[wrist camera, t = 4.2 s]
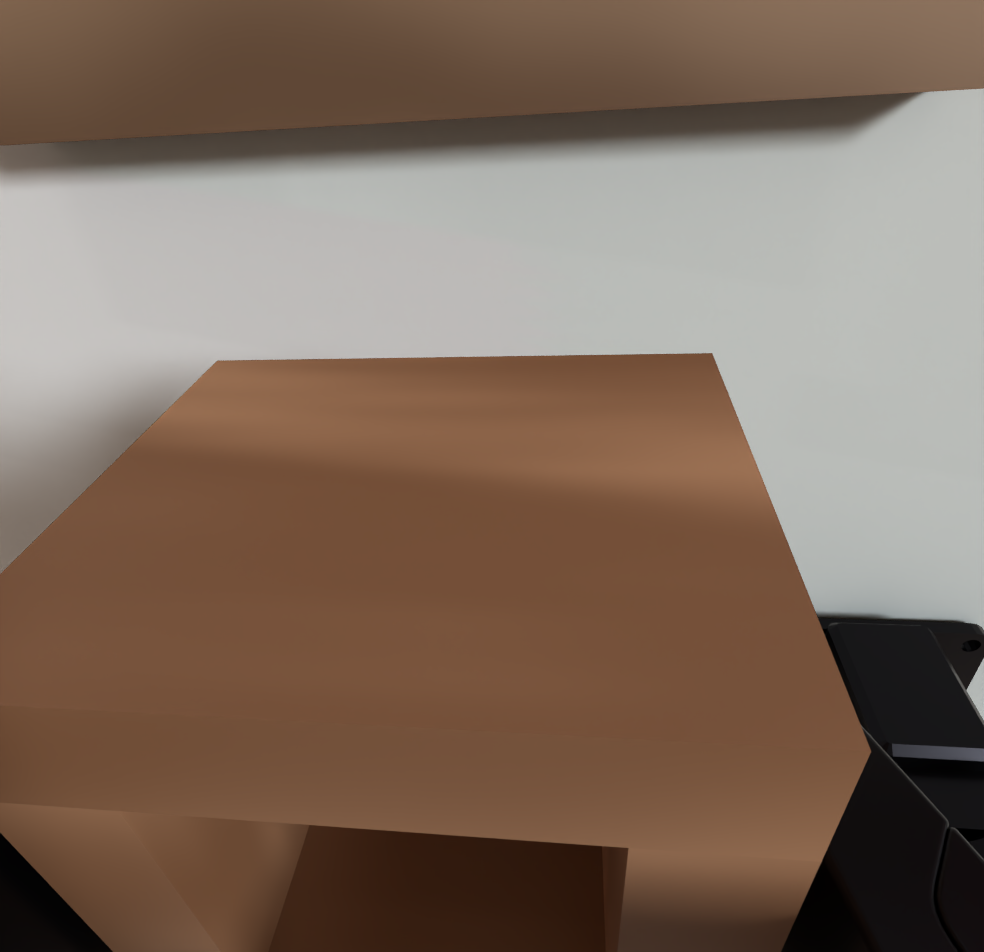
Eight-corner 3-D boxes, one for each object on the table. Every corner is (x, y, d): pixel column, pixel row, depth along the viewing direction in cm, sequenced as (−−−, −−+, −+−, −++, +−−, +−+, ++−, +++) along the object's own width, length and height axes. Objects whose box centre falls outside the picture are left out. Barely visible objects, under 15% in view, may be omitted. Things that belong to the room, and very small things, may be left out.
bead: (666, 687, 11) (719, 1085, 7) (318, 672, 12) (182, 1025, 8) (712, 353, 8) (873, 751, 4) (217, 361, 8) (-127, 698, 4)
